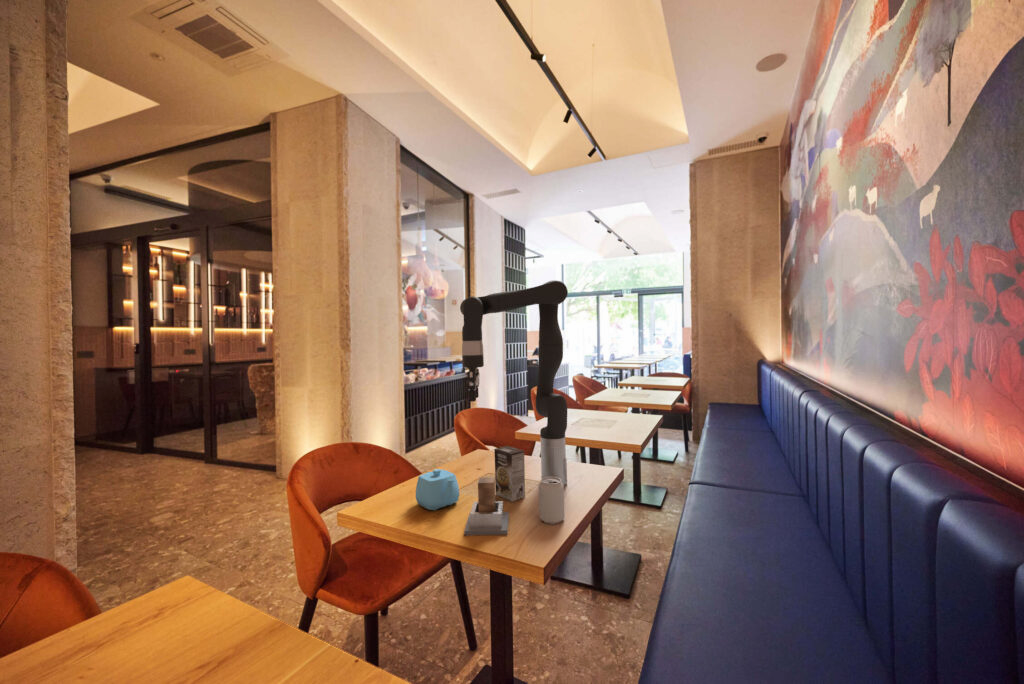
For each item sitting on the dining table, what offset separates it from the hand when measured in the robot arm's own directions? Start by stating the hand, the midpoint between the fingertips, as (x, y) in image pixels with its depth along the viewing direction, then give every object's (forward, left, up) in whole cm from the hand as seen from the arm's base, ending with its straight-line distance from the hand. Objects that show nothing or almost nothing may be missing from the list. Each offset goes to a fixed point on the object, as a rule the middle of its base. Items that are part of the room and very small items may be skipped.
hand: (474, 399), depth 146 cm
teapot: (+11, +11, -33) cm, 37 cm away
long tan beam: (-6, +26, -32) cm, 41 cm away
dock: (-6, +26, -33) cm, 42 cm away
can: (-25, +23, -33) cm, 47 cm away
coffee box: (-12, +4, -33) cm, 36 cm away
